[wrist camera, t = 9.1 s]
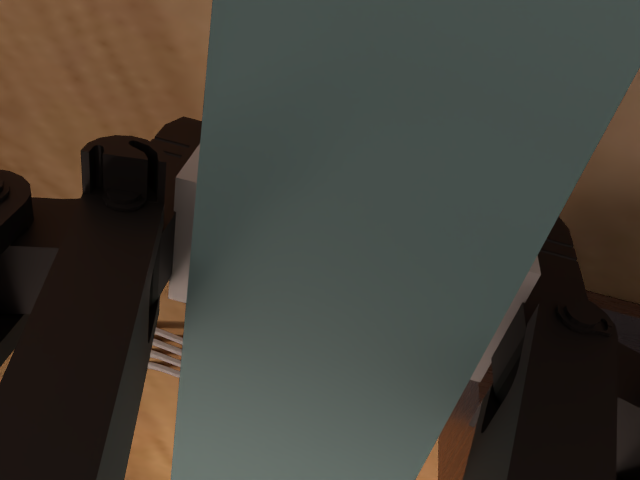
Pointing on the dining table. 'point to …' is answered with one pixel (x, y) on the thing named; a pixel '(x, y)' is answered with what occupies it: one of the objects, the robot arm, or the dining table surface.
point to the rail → (374, 216)
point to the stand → (456, 437)
